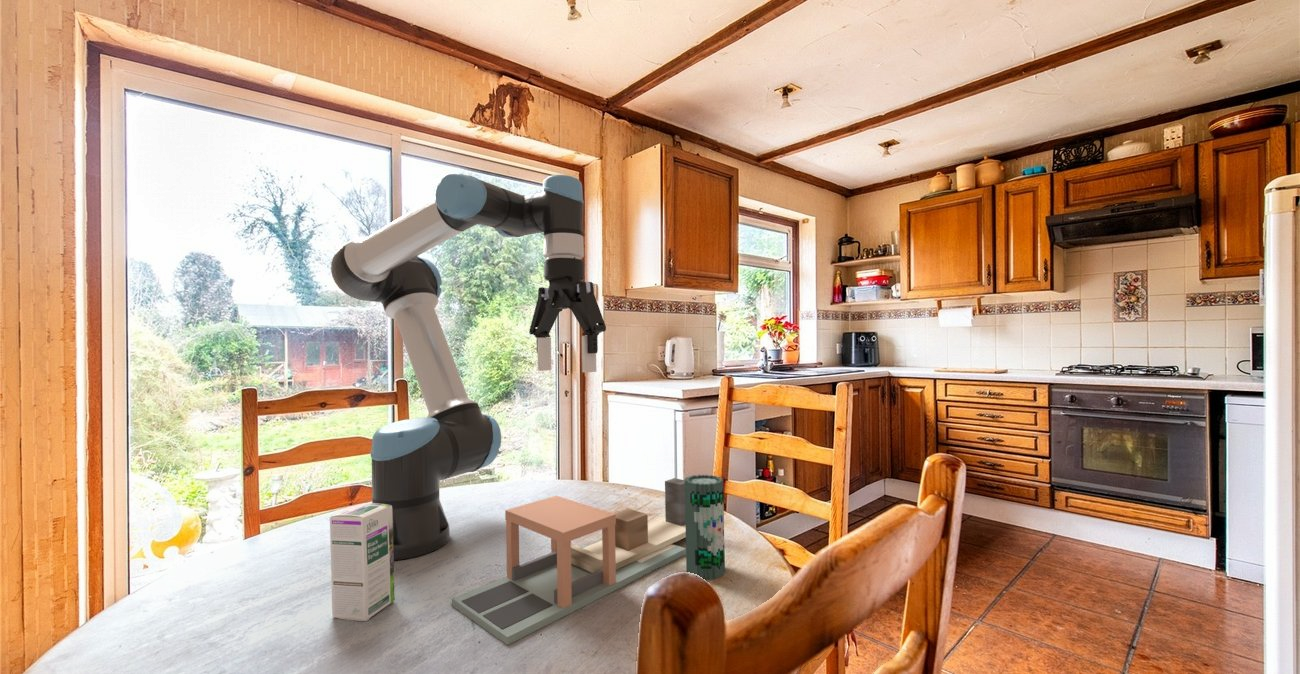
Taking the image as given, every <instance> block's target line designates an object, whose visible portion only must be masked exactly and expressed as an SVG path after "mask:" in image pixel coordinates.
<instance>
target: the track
mask: <svg viewBox="0 0 1300 674" xmlns="http://www.w3.org/2000/svg"><path fill="white" fill-rule="evenodd" d="M614 513H615V512H611V511H607V510H604V509H600V508H597V507H593V506H591V505H588V504H585V503H583V502H582V503H581V502H578V501H575V500H572V499H568V498H565V497H562V496H559V495H553V496H551V497H550V496H549V497H547V498H543V499H540V500H536V501H533V502H530V503H526V504H522V505H519V506H515V507H512V508H509V509H508V508H507V509H505V513H504V516H505V517H504V518H505V530H506V532H505V533H506V534H505V535H506V536H505V537H506V538H505V540H506V542H505V543H506V544H505V545H506V576H504V577H501V578H499V579H496V580H494V581H492V582H489V583H486V584H484V585H481V586H479V587H477V588H474V589H471V590H469V591H466V592H463V593H461V594H458V595H456V596H454V597H451V606H452V607H454V609H456V610H458V611H459V612H461V613H462V614H463V615H465V616H466V617H467V618H468V619H470V620H471V621H473V622H474V623H476V624H477V625H479V626H480V627H481V628H483V629H484V630H486V631H487V632H488V633H489V634H491V635H493V636H494V637H495V638H497V639H498V640H499V641H500V642H502V643H504V645H506V646H509V645H511V644H513V643H514V642H517V641H518V640H520V639H522V638H525V637H527V636H528V635H531V634H532V633H534V632H537V631H538V630H540V629H542V628H544V627H546V626H548V625H550V624H552V623H554V622H556V621H558V620H560V619H561V618H562V619H563V618H564V617H565V616H567V615H570V614H571V613H574V612H575V611H577V610H579V609H581V608H583V607H586V606H587V605H589V604H591V603H593V602H595V601H597V600H599V599H600V598H602V597H605V596H607V595H609V594H611V593H613V592H615V591H617V590H619V589H620V588H623V587H625V586H627V585H628V584H631V583H632V582H634V581H637V580H638V579H641V578H642V577H644V576H646V575H648V574H650V573H651V572H650V571H652V570H654V571H656V570H658V569H660V568H662V567H664V566H665V565H668V564H670V563H672V562H673V561H675V560H677V559H679V558H681V557H683V556H686V547H684V546H683V547H682V546H679V545H676V544H674V543H672V544H670V545H668V546H666V547H664V548H662V549H659V550H657V551H655V552H653V553H651V554H649V555H647V556H645V557H642V558H640V559H638V560H636V561H634V562H632V563H630V564H628V565H625V566H623V567H621V568H619V569H617V570H616V556H615V524H616V514H614ZM519 527H521V528H524V529H527V530H530V531H531V532H534V533H537V534H540V535H542V536H544V537H547V538H549V539H550V549H551V550H550V553H547V554H544V555H542V556H540V557H537V558H533V559H531V560H529V561H526V562H524V563H521V564H520V528H519ZM598 531H602V532H601V533H602V534H601V535H602V536H601V538H600V539H598V540H595V541H592V542H590V543H587V544H585V545H582V546H580V547H581V548H584V547H587V546H589V545H592V544H594V543H597V542H599V541H602V549H603V568H602V569H600V570H597V571H595V572H593V573H591V572H589V571H587V570H585V569H582V568H580V567H578V566H576V565H573V564H571V544H572V541H574V540H577V539H580V538H582V537H584V536H588V535H590V534H593V533H595V532H598ZM659 567H660V568H659ZM657 568H658V569H657ZM655 569H656V570H655ZM649 572H650V573H649ZM652 572H653V571H652ZM647 573H648V574H647ZM645 574H646V575H645ZM643 575H644V576H643Z"/></svg>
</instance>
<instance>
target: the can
mask: <svg viewBox="0 0 1300 674" xmlns="http://www.w3.org/2000/svg"><path fill="white" fill-rule="evenodd" d="M684 480H685V522H686V537H685V548H686V554H685V558H686V559H685V560H686V561H685V565H686V569H685V570H686V573H688V572H690V573H694V574H697V575H699V576H700V577H702V578H704V579H703V580H712V579H718V578H720V577H722V576H724V574H725V573H726V562H725V561H726V559H725V557H726V556H725V555H726V554H725V553H726V551H725V514H724V513H725V512H724V511H725V505H724V504H725V503H724V502H725V501H724V478H722V477H721V476H717V475H713V474H697V475H695V474H694V475H693V474H692V475H689V476H686V478H684ZM696 577H697V576H696Z"/></svg>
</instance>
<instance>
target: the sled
mask: <svg viewBox="0 0 1300 674" xmlns="http://www.w3.org/2000/svg"><path fill="white" fill-rule="evenodd" d="M664 499H665V500H664V505H665V511H664V512H665V515H664V516H659V517H657V518H654V519H652V520H650V521H649V520H648V543H645V544H643V545H641V546H639V547H636V548H634V549H632V550H630V551H627V550H624V549H621V548H619V547H616V546H615V556H616V570H617V569H619V568H621V567H623V566H625V565H628V564H630V563H632V562H634V561H636V560H638V559H640V558H642V557H645V556H647V555H649V554H651V553H653V552H655V551H657V550H659V549H662V548H664V547H666V546H668V545H670V544H674V543H676V542H678V541H681V540H682V539H684V538H685V539H686V522H685V479H680V478H675V477H674V478H671V479H668V480H667V479H666V480H665V481H664ZM581 547H582V546H579V545H577V544H573V543H571V564H573V565H576V566H578V567H580V568H582V569H585V570H587V571H589V572H591V573H593V572H595V571H597V570H600V569H602V568H603V549H602V541H599V542H597V543H594V544H592V545H589V546H587V547H584V548H581Z"/></svg>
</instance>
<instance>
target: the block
mask: <svg viewBox="0 0 1300 674" xmlns="http://www.w3.org/2000/svg"><path fill="white" fill-rule="evenodd" d="M613 513H614V514H616V524H615V546H616V547H619V548H621V549H624V550H627V551H630V550H632V549H634V548H636V547H639V546H641V545H643V544H645V543H648V522H649V520H648V515H649V514H648V513H645V512H641V511H639V510H634V509H631V508H625V509H622V510H619V511H617V512H613Z"/></svg>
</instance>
